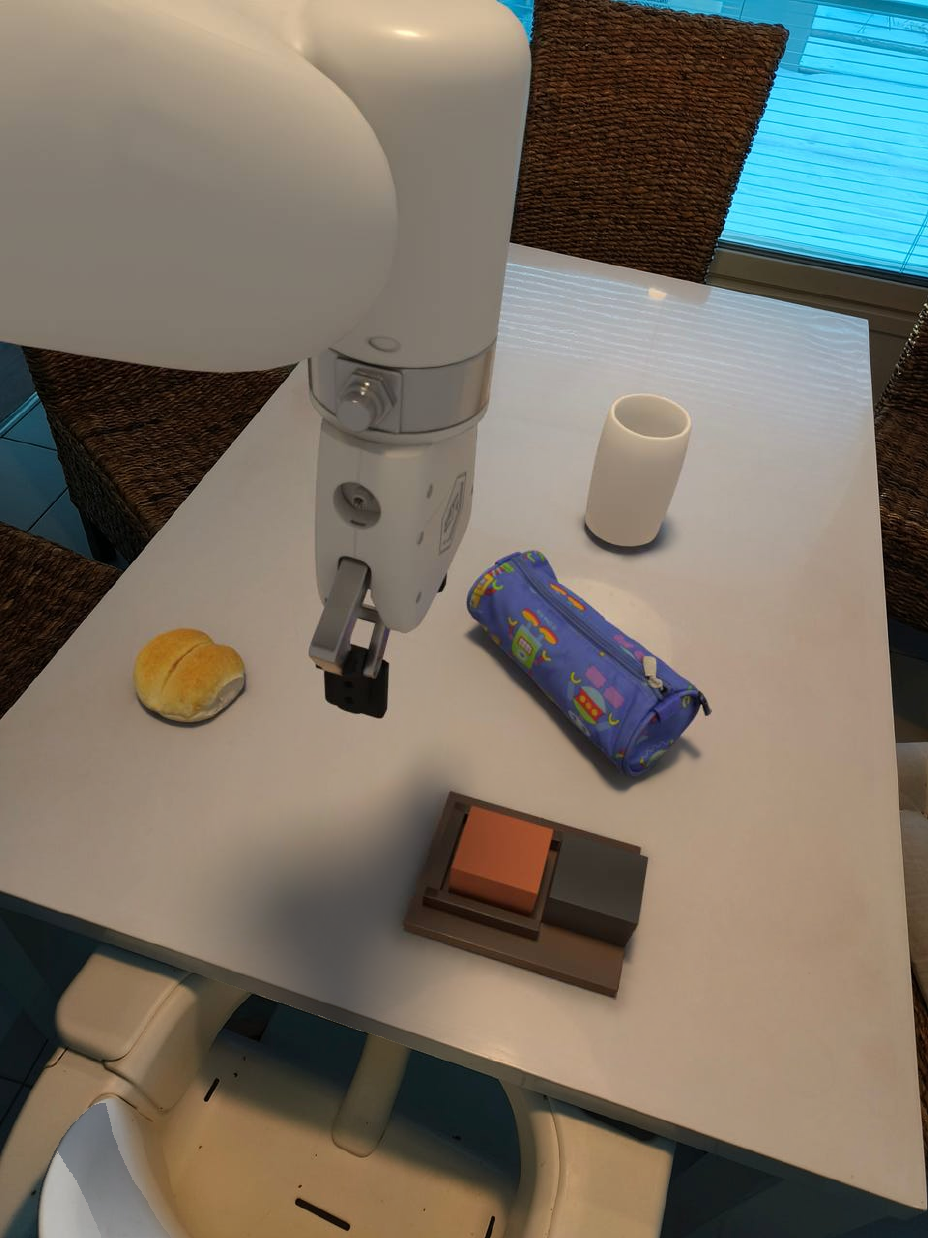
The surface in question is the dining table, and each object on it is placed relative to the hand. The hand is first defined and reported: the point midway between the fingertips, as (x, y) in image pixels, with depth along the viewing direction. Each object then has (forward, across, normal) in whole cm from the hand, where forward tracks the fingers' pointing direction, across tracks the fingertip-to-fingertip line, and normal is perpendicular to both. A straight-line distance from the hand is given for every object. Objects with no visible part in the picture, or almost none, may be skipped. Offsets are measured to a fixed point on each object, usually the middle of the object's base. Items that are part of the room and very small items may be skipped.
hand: (389, 641), depth 47 cm
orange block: (+22, 0, -9) cm, 23 cm away
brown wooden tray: (+23, 0, -11) cm, 25 cm away
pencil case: (+23, +20, -10) cm, 32 cm away
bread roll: (+23, +9, +20) cm, 32 cm away
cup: (+22, +42, -11) cm, 49 cm away
